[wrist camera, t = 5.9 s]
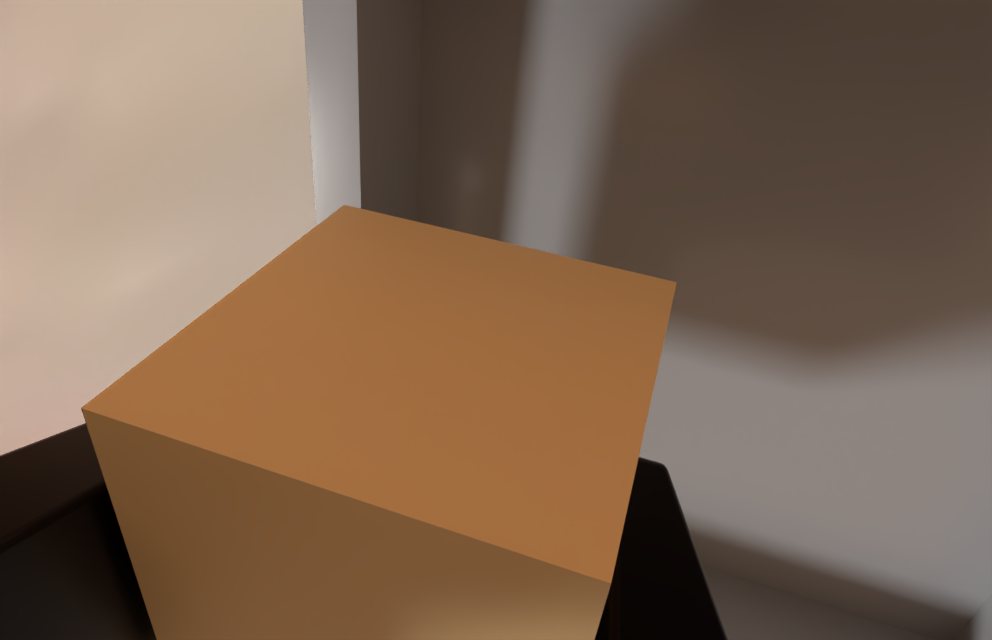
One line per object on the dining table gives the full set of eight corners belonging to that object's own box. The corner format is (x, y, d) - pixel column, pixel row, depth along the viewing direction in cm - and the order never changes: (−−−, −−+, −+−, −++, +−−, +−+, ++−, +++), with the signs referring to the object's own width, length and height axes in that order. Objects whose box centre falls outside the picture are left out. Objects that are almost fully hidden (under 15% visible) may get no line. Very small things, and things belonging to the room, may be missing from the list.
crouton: (352, 445, 11) (173, 691, 7) (344, 204, 8) (81, 409, 5) (610, 525, 10) (534, 843, 7) (677, 282, 7) (610, 583, 4)
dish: (391, 466, 16) (336, 552, 14) (395, -182, 9) (290, -199, 7) (966, 649, 13) (1002, 787, 11) (1564, -65, 7) (1921, -39, 4)
